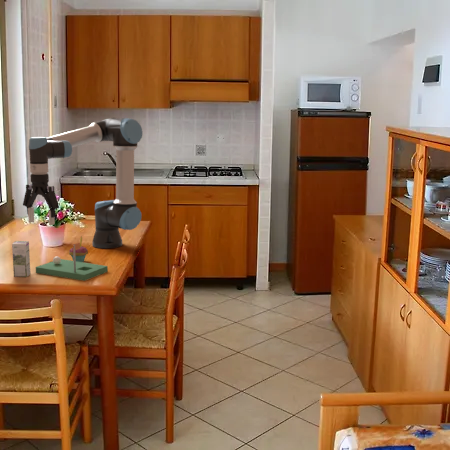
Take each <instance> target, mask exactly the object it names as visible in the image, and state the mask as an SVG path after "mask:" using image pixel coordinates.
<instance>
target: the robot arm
mask: <svg viewBox="0 0 450 450" xmlns="http://www.w3.org/2000/svg"><path fill="white" fill-rule="evenodd" d="M142 138H143V127H142V125H141V123H140V122H139V121H138V120H136V119H133V118H131V117H130V118H129V117H124V118H122V117H109V118H105V119H102V120H99V121H94V122H91V124H89V125H88V126H85V127H84V126H83V127H81V128H77V129H74V130H70V131H67V132H66V131H65V132H63V133H59V134H54V135H52V136H48V137H44V136H31V137H30V138H29V139H28V151H29V152H28V153H29V170H30V183H29V184H26V185H25V193H24V198H23V202H22V206H24V207H26V214H27V216H28V218H27V219H28V223H29V224H30V223H34V222H35V209H34V208H35V207H33V206H34V203H35V200H36V199H37V197H38V195H40V196H42V197H43V199H44V201H45V202H46V204H47V206H48V208H49V210H48V225H49V226H53V225H55V223H56V222H55V218H56V211H57V209H58V210H59V209H60V205H59V202H58V199H57V195H56V192H55V186H54V185H52V186H50V185H49V182H50V177H49V160H50V159H64V158H69V157H71V155H72V154H73V148H75V147H79V146H82V145H83V146H84V145H85V144H89V143H93V142H95V143H101V142H113V143H112V146H113V148H114V149H115V150H116V159H115V160H116V161H115V162H116V165H115V168H116V169H115V170H116V171H115V175H116V177H115V178H116V179H115V199H110V200H103V201H101V200H100V201H97V202H95V204H94V220H95V221H94V222H95V224H94V225H95V232H94V235H93V238H92V247H94V248H98V249H115V248H120V247H122V246H123V239H122V235H121V232H120V230H119V229H122V230H123V231H124V230H127V231H128V230H129V231H132V230H135V229H136V228H137V227H138V226H139V224H140V223H141V221H142V212H141V210H140V208H139V207H138V202H137V201H136V200H135V197H134V195H135V172H134V171H135V150H136V149H137V148H138V143H140V141H141V139H142Z"/></svg>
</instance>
